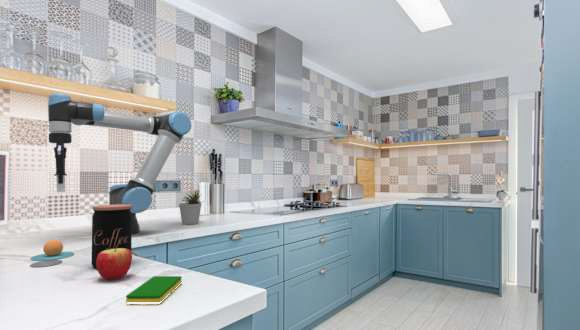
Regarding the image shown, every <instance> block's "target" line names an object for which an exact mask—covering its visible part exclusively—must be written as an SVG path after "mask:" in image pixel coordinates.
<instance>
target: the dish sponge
mask: <svg viewBox="0 0 580 330" xmlns="http://www.w3.org/2000/svg"><path fill="white" fill-rule="evenodd" d="M182 280H183V279H182V276H180V275H179V276H177V275H176V276H175V275H174V276H173V275H171V276H167V275H166V276H165V275H164V276H163V275H161V276H160V275H158V276H157V275H156V276H152V277H151V278H149V279H148V280H146V281H145V282H144V283H142V284H141V285H139V286H137V288H135V289H134V290H132V291H131V292H129V293H128V294H126V295H125V303H126V302H160V301H162V300H163V299H164V298H165V297H166V296H167V295H168V294H169V293H171V292H172V291H173V290H174V289H175V288H176V287H177V286H178V285H179V284H180V283H181V282H182ZM171 294H172V293H171Z"/></svg>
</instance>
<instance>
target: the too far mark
mask: <svg viewBox="0 0 580 330" xmlns="http://www.w3.org/2000/svg"><path fill="white" fill-rule="evenodd" d="M62 263H63V260H62V259H56V260H46V261H37V262H33V263H31V264H30V265H29V267H30V268H47V267H53V266H56V265H61V264H62Z"/></svg>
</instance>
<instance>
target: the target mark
mask: <svg viewBox="0 0 580 330" xmlns="http://www.w3.org/2000/svg"><path fill="white" fill-rule="evenodd" d="M74 255H75V252H73V251H62V252H61V253H60V254H58V255H56V256H48V255H46V254H45V253H41V254H37V255H33V256H32V257H30V260H31V261H34V262H35V261H37V262H41V261H48V260H63V259H66V258H69V257H72V256H74Z"/></svg>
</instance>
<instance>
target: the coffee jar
mask: <svg viewBox="0 0 580 330" xmlns="http://www.w3.org/2000/svg"><path fill="white" fill-rule="evenodd" d="M131 208H132V205H128V204H115V205H109V204H99V205H94V206H92V210H93V212H94V213H92V216H91V224H92V225H91V266H92V267H93V268H94V269H96V270H97V266H96V260H97V256H98V254H99V253H100V252H102V251H105V250H109V249H116V246H117V244H118V243H119V242H120V240H121V239H122V241H121V242H120V243H119V244H118V246H117V248H126V249H129V250H130V251H131V252H132V240H133V239H132V236H133V235H132V234H133V233H132V212H131V211H130V209H131Z"/></svg>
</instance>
